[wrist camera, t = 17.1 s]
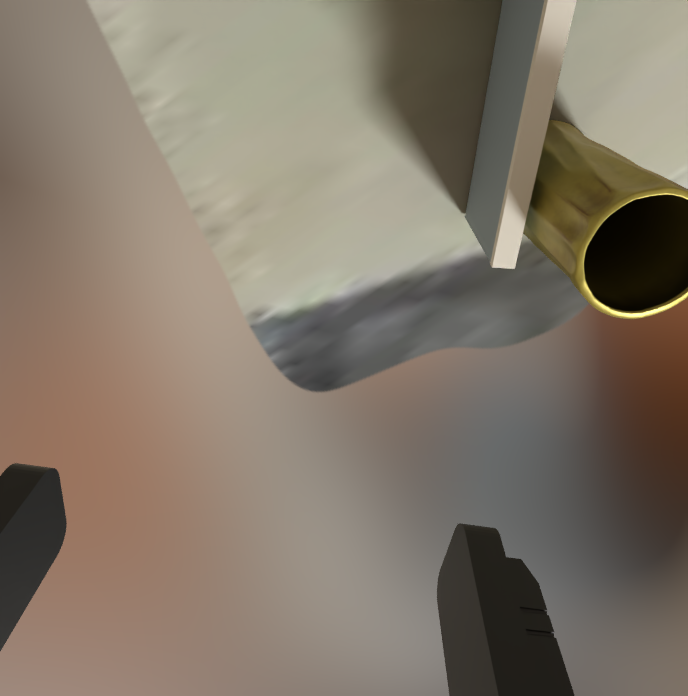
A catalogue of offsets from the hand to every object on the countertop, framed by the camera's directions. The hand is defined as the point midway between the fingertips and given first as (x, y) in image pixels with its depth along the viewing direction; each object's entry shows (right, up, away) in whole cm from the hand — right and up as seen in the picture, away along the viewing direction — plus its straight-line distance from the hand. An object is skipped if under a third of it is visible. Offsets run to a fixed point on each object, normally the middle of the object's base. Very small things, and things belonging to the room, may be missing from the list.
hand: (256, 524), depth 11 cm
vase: (+14, +14, +22) cm, 29 cm away
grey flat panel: (+10, +18, +19) cm, 28 cm away
